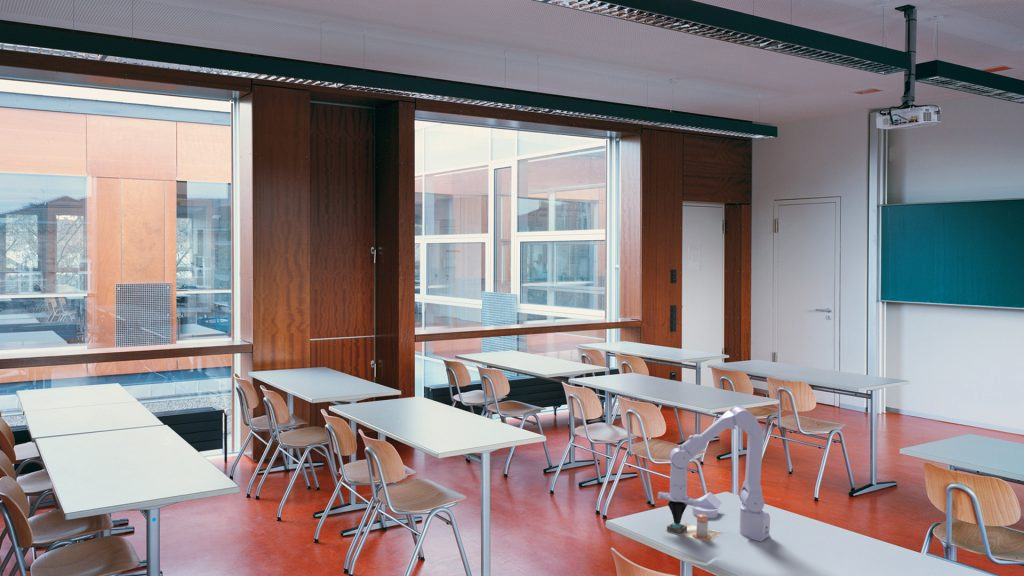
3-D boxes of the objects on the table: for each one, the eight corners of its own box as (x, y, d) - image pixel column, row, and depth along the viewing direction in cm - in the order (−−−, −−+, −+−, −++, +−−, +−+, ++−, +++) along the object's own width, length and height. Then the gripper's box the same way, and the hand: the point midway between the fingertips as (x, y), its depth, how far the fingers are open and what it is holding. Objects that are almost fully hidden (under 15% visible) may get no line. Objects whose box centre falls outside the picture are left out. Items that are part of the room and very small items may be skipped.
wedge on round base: (697, 507, 301) (689, 517, 290) (698, 490, 301) (690, 499, 289) (721, 511, 297) (714, 521, 286) (722, 493, 297) (715, 503, 285)
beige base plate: (727, 534, 273) (727, 528, 272) (709, 546, 262) (710, 539, 262) (679, 522, 284) (679, 516, 284) (660, 532, 273) (661, 526, 273)
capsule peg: (709, 535, 269) (709, 515, 268) (704, 538, 266) (705, 518, 265) (698, 533, 271) (699, 513, 270) (694, 536, 268) (695, 516, 268)
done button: (682, 529, 274) (683, 524, 274) (678, 532, 271) (679, 526, 271) (675, 527, 276) (675, 522, 276) (670, 529, 273) (671, 524, 273)
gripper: (653, 482, 274) (652, 521, 275) (692, 490, 265) (691, 531, 266) (663, 478, 280) (662, 516, 280) (702, 486, 271) (700, 525, 271)
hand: (677, 523), depth 273 cm, fingers closed
